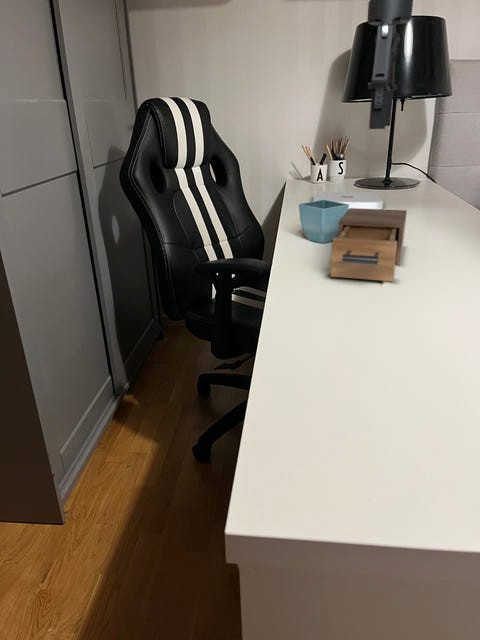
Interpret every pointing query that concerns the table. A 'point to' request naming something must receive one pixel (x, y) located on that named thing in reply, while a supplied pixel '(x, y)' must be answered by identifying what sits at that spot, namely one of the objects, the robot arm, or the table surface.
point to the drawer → (364, 253)
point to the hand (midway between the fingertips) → (380, 127)
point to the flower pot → (321, 219)
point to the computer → (352, 198)
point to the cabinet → (377, 223)
